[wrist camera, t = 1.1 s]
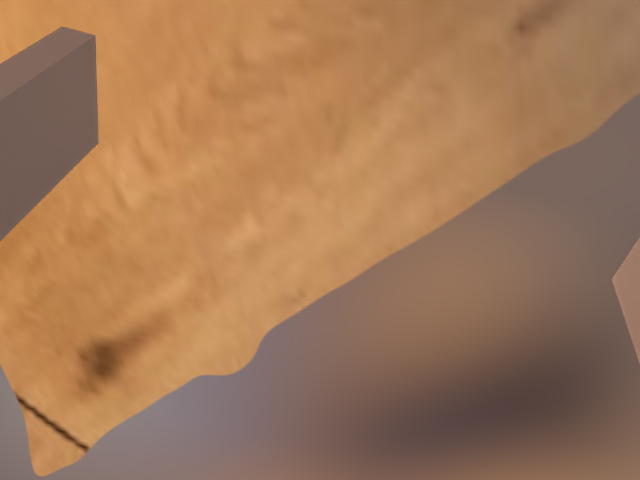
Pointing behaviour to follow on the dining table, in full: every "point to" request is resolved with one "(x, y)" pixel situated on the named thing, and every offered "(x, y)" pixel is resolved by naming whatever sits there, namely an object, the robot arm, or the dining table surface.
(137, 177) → the dining table surface
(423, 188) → the dining table surface
